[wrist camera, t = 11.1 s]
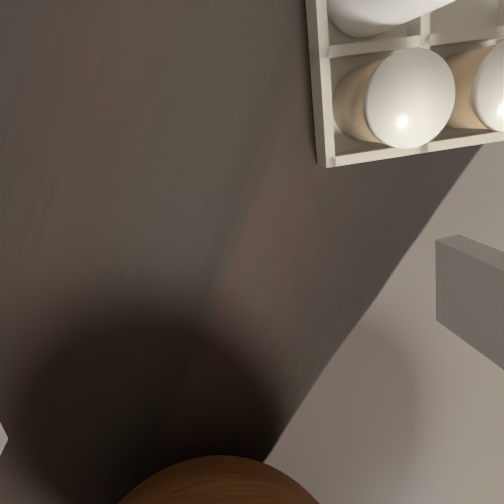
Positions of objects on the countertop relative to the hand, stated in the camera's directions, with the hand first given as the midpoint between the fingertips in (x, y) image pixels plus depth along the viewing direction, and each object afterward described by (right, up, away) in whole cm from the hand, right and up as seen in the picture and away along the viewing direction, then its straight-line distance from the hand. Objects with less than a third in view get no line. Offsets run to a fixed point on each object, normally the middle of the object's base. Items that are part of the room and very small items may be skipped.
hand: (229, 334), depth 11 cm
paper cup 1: (+10, +15, +23) cm, 29 cm away
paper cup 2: (+18, +16, +24) cm, 34 cm away
